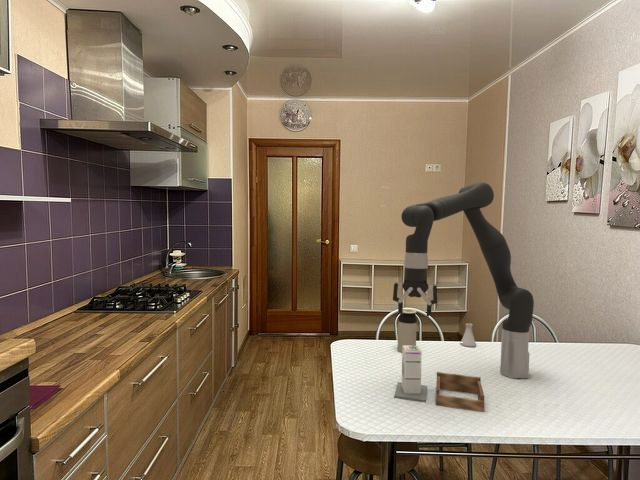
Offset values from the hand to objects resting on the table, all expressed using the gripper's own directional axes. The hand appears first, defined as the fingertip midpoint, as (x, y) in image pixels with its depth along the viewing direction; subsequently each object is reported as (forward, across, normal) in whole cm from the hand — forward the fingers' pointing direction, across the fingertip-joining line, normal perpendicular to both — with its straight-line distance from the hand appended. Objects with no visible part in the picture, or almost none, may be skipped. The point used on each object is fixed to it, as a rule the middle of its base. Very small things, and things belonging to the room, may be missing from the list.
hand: (414, 315), depth 134 cm
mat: (+26, 0, 0) cm, 26 cm away
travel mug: (+26, +5, -45) cm, 52 cm away
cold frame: (+26, -15, 0) cm, 30 cm away
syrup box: (+26, 0, 0) cm, 26 cm away
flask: (+26, -22, -64) cm, 72 cm away
